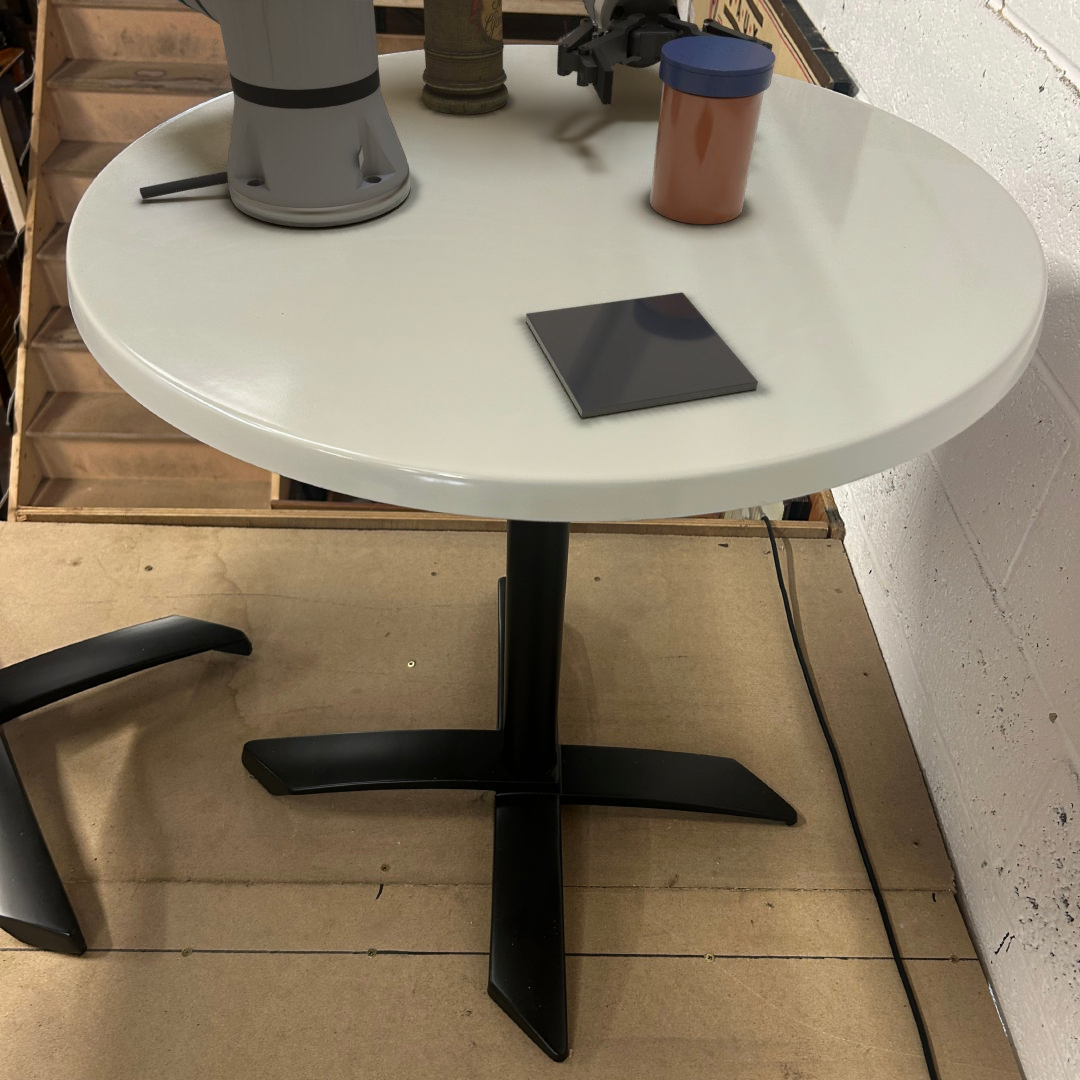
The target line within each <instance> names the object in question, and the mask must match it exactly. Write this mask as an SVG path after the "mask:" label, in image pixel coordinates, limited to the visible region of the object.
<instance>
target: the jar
mask: <svg viewBox="0 0 1080 1080" xmlns="http://www.w3.org/2000/svg"><path fill="white" fill-rule="evenodd" d="M764 94H765V91H763V92H761V93H757V94H754V95H749V96H742V97H711V96H703V95H697V94H692V93H687V92H684V91H680V90H678V89H675V88H673V87H670V86H669V85H667V84H665V83H664V82H663V81H662V88H661V97H660V105H659V114H658V123H657V132H656V140H655V148H654V149H655V151H654V159H653V166H652V177H651V187H650V194H649V204H650V206H651V208H652V209H653V210H654V211H655V212H656V213H658V214H659V215H661V216H663V217H665V218H667V219H670V220H672V221H675V222H679V223H684V224H691V225H716V224H722V223H726V222H729V221H732V220H734V219H736V218H738V217H739V216H740V215H741V213H742V211H743V207H744V202H745V198H746V191H747V187H748V181H749V175H750V171H751V170H750V169H751V165H752V159H753V154H754V148H755V142H756V137H757V131H758V126H759V121H760V116H761V110H762V104H763V98H764Z"/></svg>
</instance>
